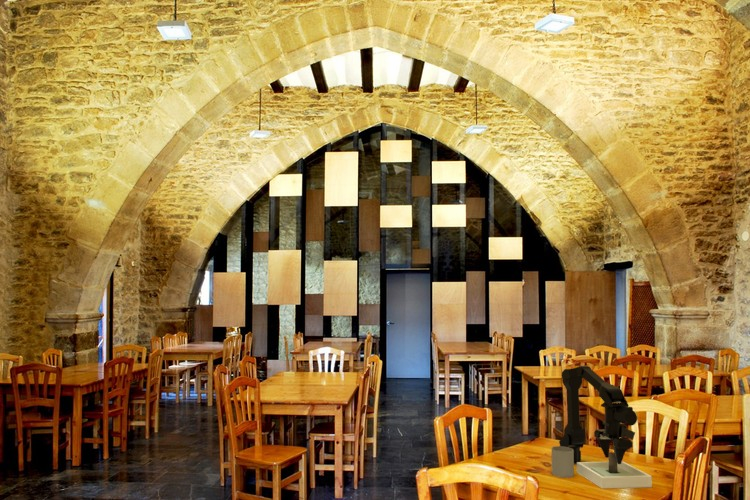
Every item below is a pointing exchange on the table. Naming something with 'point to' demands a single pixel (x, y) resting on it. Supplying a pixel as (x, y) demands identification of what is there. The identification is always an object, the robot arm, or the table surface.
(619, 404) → the robot arm
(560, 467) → the cup
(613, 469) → the peg
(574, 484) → the table surface
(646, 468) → the table surface
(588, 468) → the tray
